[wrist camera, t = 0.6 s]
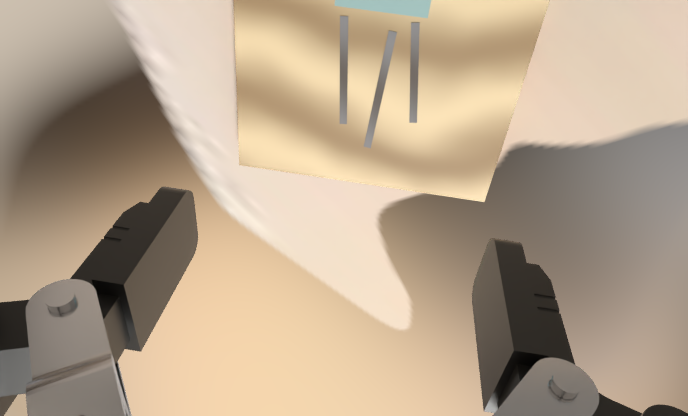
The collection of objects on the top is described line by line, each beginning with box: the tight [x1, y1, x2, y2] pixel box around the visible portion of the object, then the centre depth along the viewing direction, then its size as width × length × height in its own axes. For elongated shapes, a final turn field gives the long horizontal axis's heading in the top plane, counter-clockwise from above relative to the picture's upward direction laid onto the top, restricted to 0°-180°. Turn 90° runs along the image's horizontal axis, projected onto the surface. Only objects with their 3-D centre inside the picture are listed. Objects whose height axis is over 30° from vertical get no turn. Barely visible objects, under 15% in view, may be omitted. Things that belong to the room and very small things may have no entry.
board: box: [234, 0, 550, 202], centre depth 30 cm, size 22×18×2 cm
